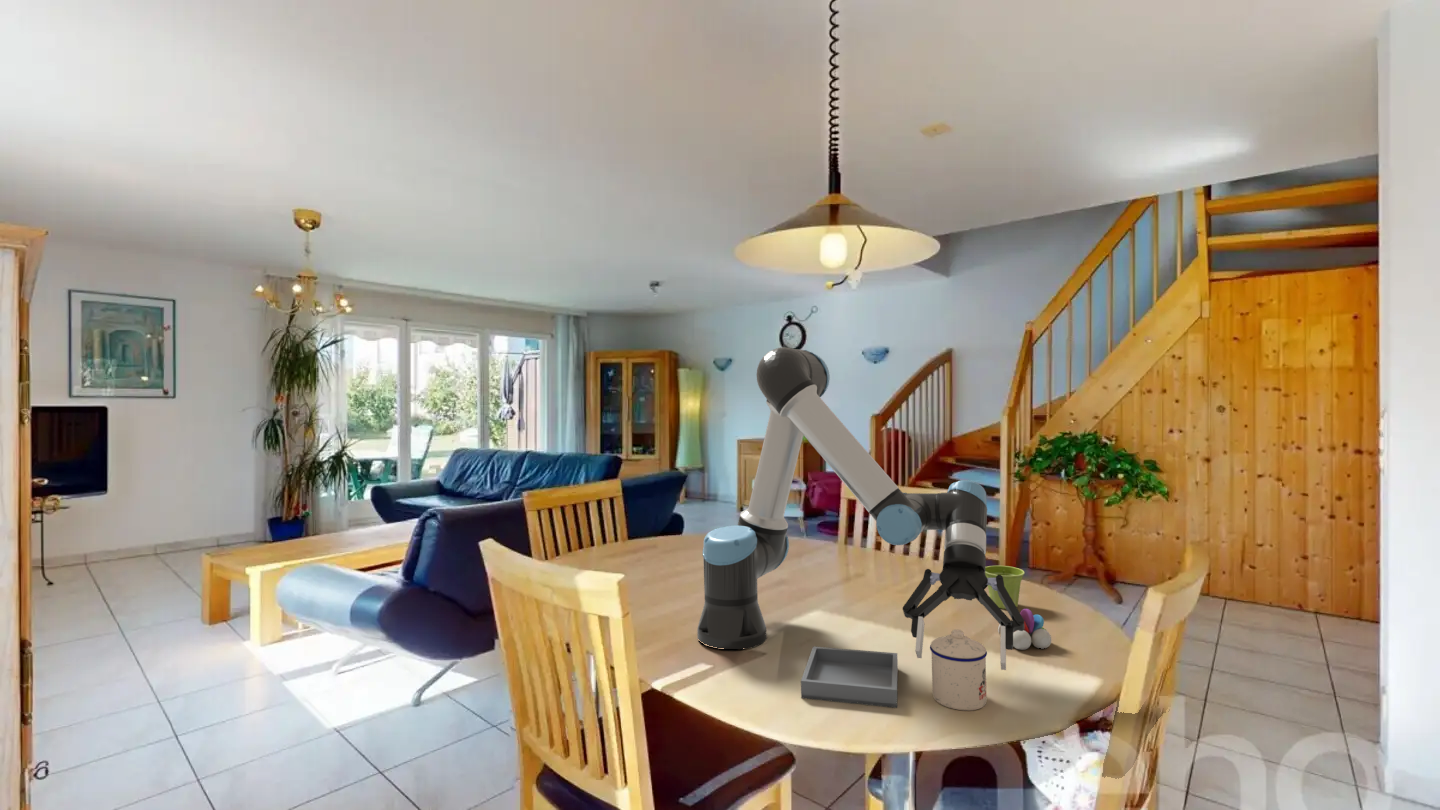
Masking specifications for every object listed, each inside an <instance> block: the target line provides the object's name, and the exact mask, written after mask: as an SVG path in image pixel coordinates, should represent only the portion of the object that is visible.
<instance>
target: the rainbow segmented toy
mask: <svg viewBox="0 0 1440 810" xmlns="http://www.w3.org/2000/svg"><path fill="white" fill-rule="evenodd" d="M1019 613H1020V614H1021V616H1022V618H1023V619H1024V627H1025V628H1024V630H1023V631H1019V630H1017V631H1015V632H1014V633H1013V648H1015V649H1016V650H1019V651H1025V650H1027V649H1029V648H1030V646H1031V645H1032V646H1034V647H1035V648H1037V649H1039V648H1041V649H1040V650H1042V649H1043V650H1044V648H1045V649H1047V648H1048V647H1050V645H1051V644H1052V636H1051V633H1050V632H1049V631H1048V630H1047V629H1046V628H1044V624H1045V619H1044V617H1043V616H1042V615H1040V614H1033V611H1032V610H1030V609H1029V608H1023V609H1021V611H1019ZM997 632H998V635H999V636H1000V635H1001V625H1000V624H999V625H998V627H997Z"/></svg>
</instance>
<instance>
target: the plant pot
mask: <svg viewBox="0 0 1440 810" xmlns="http://www.w3.org/2000/svg"><path fill="white" fill-rule="evenodd" d="M1025 574H1026V573H1025V571H1024V570H1023V569H1021V568H1018V567H1014V566H1009V565H989V566H987V565H986V567H985V575H986V577H987V578H996V576H997V575H1001V576H1003V581H1004V587H1005V588H1006V590H1007V592H1008V593H1009V595H1010V597H1011V599H1012V600H1013V602H1014V604H1015V606H1016V607H1017V608H1018V606H1019V605H1018V604H1019V598H1020V591H1021V584H1022V580H1023V577H1024V576H1025ZM987 589H988V596H989V597H990V598H991V599H992V600H993V601H994V602H995V604H996V605H997V606H998V607H999V608H1000V609H1001V610H1006V608H1005V606H1004V604H1003V602H1002V601H1001V599H1000V597H999V595H998V591H995V590H994V589H993V588H992V586H990V585H988V586H987Z"/></svg>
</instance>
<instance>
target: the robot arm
mask: <svg viewBox="0 0 1440 810" xmlns="http://www.w3.org/2000/svg"><path fill="white" fill-rule="evenodd" d="M830 378H831V377H830V371H829V367H828V365H827V364H826V362H825V360H824V359H823V358H822V357H820V356H819V355H818V354H816V353H814V352H812V351H809V350H807V349H805V350H804V349H797V348H792V347H783V346H781V347H777V348H773V349H771V350H770V351H767V353H766V354H764V355H763V357H762V358H761V359H760V361H759V363H758V364H757V368H756V382H757V385H758V388H759V389H760V391H761V393H762V395H763V396H764V397H765V399H766V402H765V403H766V405H767V406H768V408H769V410H770V412H769V416H768V422H767V426H766V431H765V435H764V438H763V439H764V440H763V444H762V448H761V451H760V454H759V455H760V456H759V459H758V460H759V461H758V464H757V469H756V473H755V478H754V481H753V487H752V491H751V495H750V498H749V502H748V507H747V508H745V509H744V510H743V511H740V514H739V518H738V522H737V525H727V526H724V527H718V528H715V529H712V530H711V531H709V532H707V533H706V535H705V536H704V538H703V548H702V557H703V580H704V581H703V583H704V584H703V586H704V587H703V589H704V590H703V591H704V604H703V608H702V611H701V614H700V618H699V621H698V625H697V631H696V632H697V633H696V634H697V640H698V639H699V640H700V641H701V642H703V643H704V644H707V645H709V646H713V647H717V648H724V649H742V650H744V649H743V648H748V649H752V648H755V647H758V646H760V645H762V644H764V642H765V641H767V635H768V634H767V625H766V622H765V619H764V617H763V613H762V610H761V607H760V605H759V601H758V600H759V599H758V579H759V578H761V577H763V576H765V575H767V574H769V573H771V572H772V571H775V570H776V569H777V568H778V567H780V566H781V564H782V563H783V562H784V561H785V560H786V558H787V556H788V554H789V553H788V552H789V548H790V542H789V541H790V540H789V536H787V532H788V528H789V523H788V522H787V519H786V518H785V512H786V508H787V506H788V505H787V504H788V500H789V497H790V492H791V487H792V483H793V479H794V474H795V470H796V466H797V464H798V463H797V462H798V460H799V459H798V458H799V454H800V451H801V446H802V443H803V437H804V438H805V439H806V440H807V441H808V442H809V444H810V445H811V446H812V447H813V448H814V449H815V451H816V452H817V453H818V454H819V455H820V457H822V459H823V460H824V461H825V462H826V463H827V465H828V466H829V467H830V468H831V469H832V470H833V472H834V473H835V475H837V476H838V478H839V479H840V480H841V481H842V483H844V485H845V486H846V488H848V490H849V491H850V492H851V493H852V494H853V496H855V498H856V499H857V500H858V502H860V504H861V505H862V507H864V508H865V510H866V511H867V512H868V513H869V514H870V516H871V517H872V518H873V520H874V521H875V522H876V523H875V525H876V530H877V533H878V535H879V536H880V538H881V539H882V540H883V541H884V542H886V543H888V544H890V545H893V546H903V545H906V544H908V543H910V542H913V541H915V540H916V539H917V538H918V537H919V535H920V534H921V533H922V532H923V531H926V530H927V531H931V530H933V531H935V530H937V531H944V547H943V549H944V551H943V559H942V569H941V572H940V573H938V572H932V570H931V569H929V568H926V569H925V570H924V573H923V578H922V580H921V581H920V582H919V584H918V585H917V586H916V588H915V589H914V591H913V592H912V593H911V595H910V597H909V598H908V599H907V600H906V602H905V603H904V605H903V607H902V611H903V615H904V617H905V618H907V619H909V618H910V619H911V625H910V627H911V629H910V632H911V636H912V637H913V638H915V639H916V640H915V648H914V649H915V650H914V651H915V656H916V658H917V659H922V657H923V648H924V647H923V645H924V637H925V636H924V635H925V621H924V619H925V617H927V616H928V615H929V614H930V613H931V612H932V611H933V610H935V609H936V608H937V607H938V606H940V605H941V604H942V603H943V602H945V601H947V600H948V599H949V598H951V597H952V598H953V599H954V600H961V599H964V600H967V601H973V600H975V599H976V600H977V601H978V602H979V603H980V604H981V605H982V606H983V607H984V608H985V609H986V610H987V611H988V612H989V614H990V615H991V616H992V617H993V618H994V619H995V620H996V622H997V623H998V624H999V625H1001V635H999V636H1000V637H999V638H1000V641H999V642H1000V643H999V644H1000V657H999V659H1000V670H1001V671H1007V650H1009V651H1013V648H1014V646H1013V633H1014V632H1015V631H1017V630H1019V631H1023V630H1024V628H1025V627H1024V619H1023V618H1022V616H1021V614H1020V611H1019V609H1018V607H1016V606H1015V604H1014V602H1013V600H1012V599H1011V597H1010V595H1009V593H1008V592H1007V590H1006V588H1005V587H1004V581H1003V576H1001V575H997V576H996V578H987V577H986V575H985V567H987V565H986V560H987V557H986V553H987V552H986V551H987V519H988V518H987V517H988V506H987V504H988V503H987V492H986V490H985V488H984V487H983V486H982V485H981V484H980V483H977V482H976V481H973V480H969V479H968V480H967V479H965V480H964V479H961V480H958V481H955V482H953V483H951V484H950V485H949V487H948V489H947V492H939V493H938V492H937V493H927V492H926V493H921V492H920V493H917V492H915V493H914V492H913V493H911V492H910V493H907V492H902V490H901V489H900V488H899V486H898V485H897V484H896V483H895V482H894V480H892V479H891V477H890V476H889V474H887V473H886V472H885V471H884V469H883V468H882V467H881V466H880V465H879V463H878V462H877V461H876V460H875V459H874V458H873V456H872V455H871V454H870V453H869V452H868V451H867V449H865V448H864V446H863V445H862V444H861V442H859V441H858V439H856V437H855V436H854V435H853V434H852V432H851V431H850V430H849V429H848V428H847V427H846V425H845V424H844V423H843V422H842V421H841V420H840V419H839V418H838V417H837V415H836V414H835V413H834V412H833V411H832V410H831V408H830V407H829V406H828V405H827V404H826V402H825V401H824V400H823V399H822V398H821V397H822V396H824V394H825V393H826V391H827V389H828V387H829V385H830V380H831V379H830ZM938 581H939V583H940V584H941V585H940V586H939V587H938V588H937V590H935V592H933V593H932V594H931V595H930V596H929V597H927V598H926V599H925V600H924V601H923V599H924V598H925V596H927V594H928V592H929V591H930V589H931V587H932V586H933V585H934V586H935V584H936V583H937V582H938ZM988 585H990V586H992V588H993V589H994V590H995V591H998V595H999V597H1000V599H1001V601H1002V602H1003V604H1004V606H1005V608H1006V609H1005V610H1006V611H1007V613H1008V616H1007V614H1005V612H1004V611H1003V609H1002V608H999V607H998V606H997V605H996V604H995V602H994V601H993V600H992V599H991V598H990V596H989V594H988V593H987V591H986V590H985V589H987V588H988ZM922 601H923V602H922ZM921 602H922V603H921ZM1009 616H1010V618H1011V619H1010V618H1009ZM751 647H752V648H751Z"/></svg>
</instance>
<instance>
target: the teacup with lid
mask: <svg viewBox="0 0 1440 810" xmlns="http://www.w3.org/2000/svg"><path fill="white" fill-rule="evenodd" d="M929 650H930V652H931V681H932V682H931V684H932V685H931V686H932V689H931V690H932V693H931V694H932V696H933V699H934V700H935V702H937V703H938V704H939V705H942V706H944V707H946V708H949V709H953V710H958V711H975V710H979V709H982V708H983V707H984V706H986V704H987V701H988V700H987V669H986V668H987V664H986V663H987V662H986V657H987V655H988V651H987V648H986V647H985V646H984V644H982V643H981V642H979V641H977V640H975V639H972V638H970V637H969V636H966V635H965V633H964V631H963V630H961V629H952V631H951V634H947V635H945V636H941V637H937V638H935V639H933V640H932V641H931V642H930V646H929Z"/></svg>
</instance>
